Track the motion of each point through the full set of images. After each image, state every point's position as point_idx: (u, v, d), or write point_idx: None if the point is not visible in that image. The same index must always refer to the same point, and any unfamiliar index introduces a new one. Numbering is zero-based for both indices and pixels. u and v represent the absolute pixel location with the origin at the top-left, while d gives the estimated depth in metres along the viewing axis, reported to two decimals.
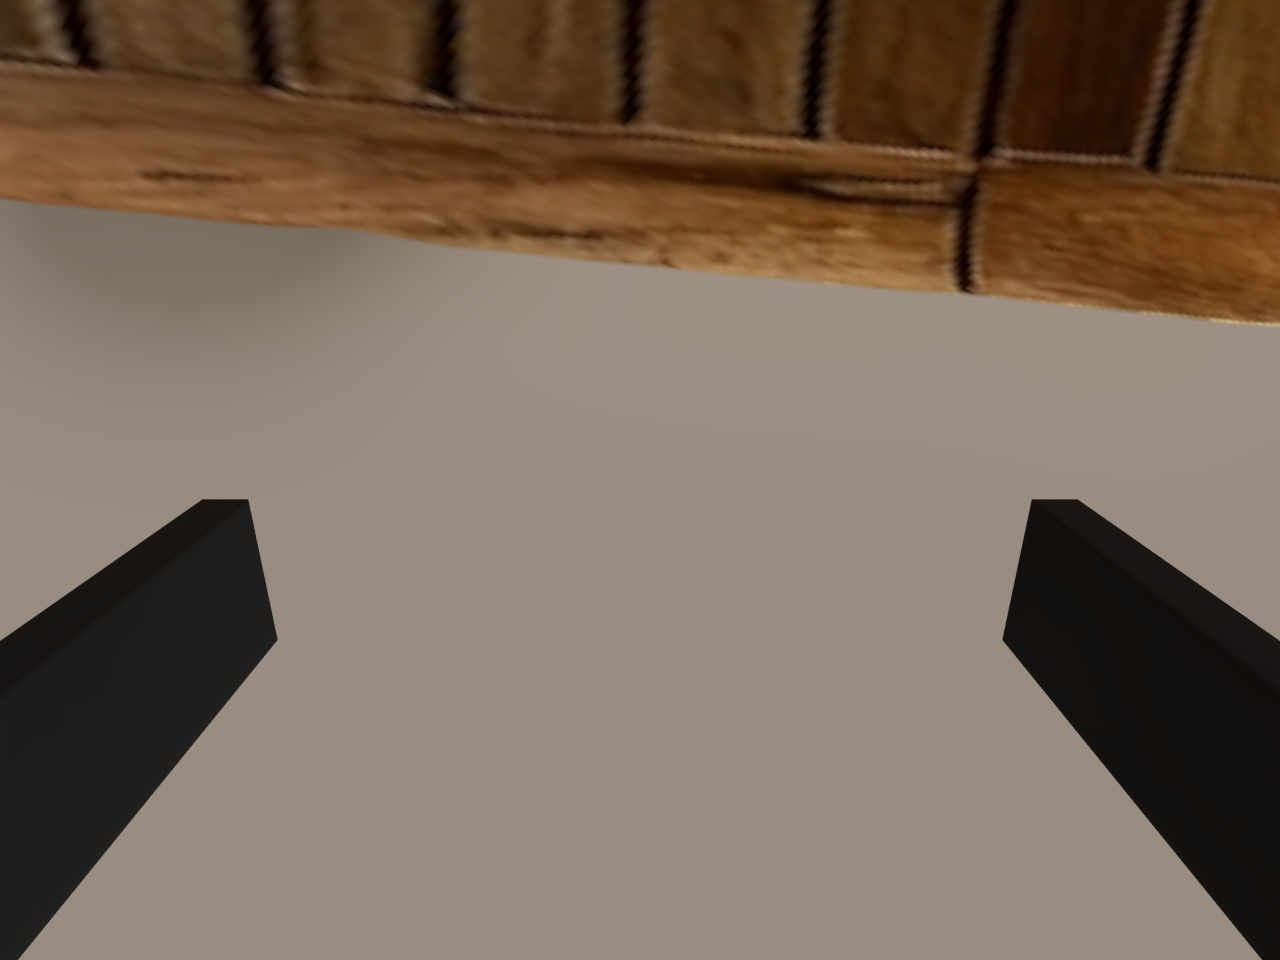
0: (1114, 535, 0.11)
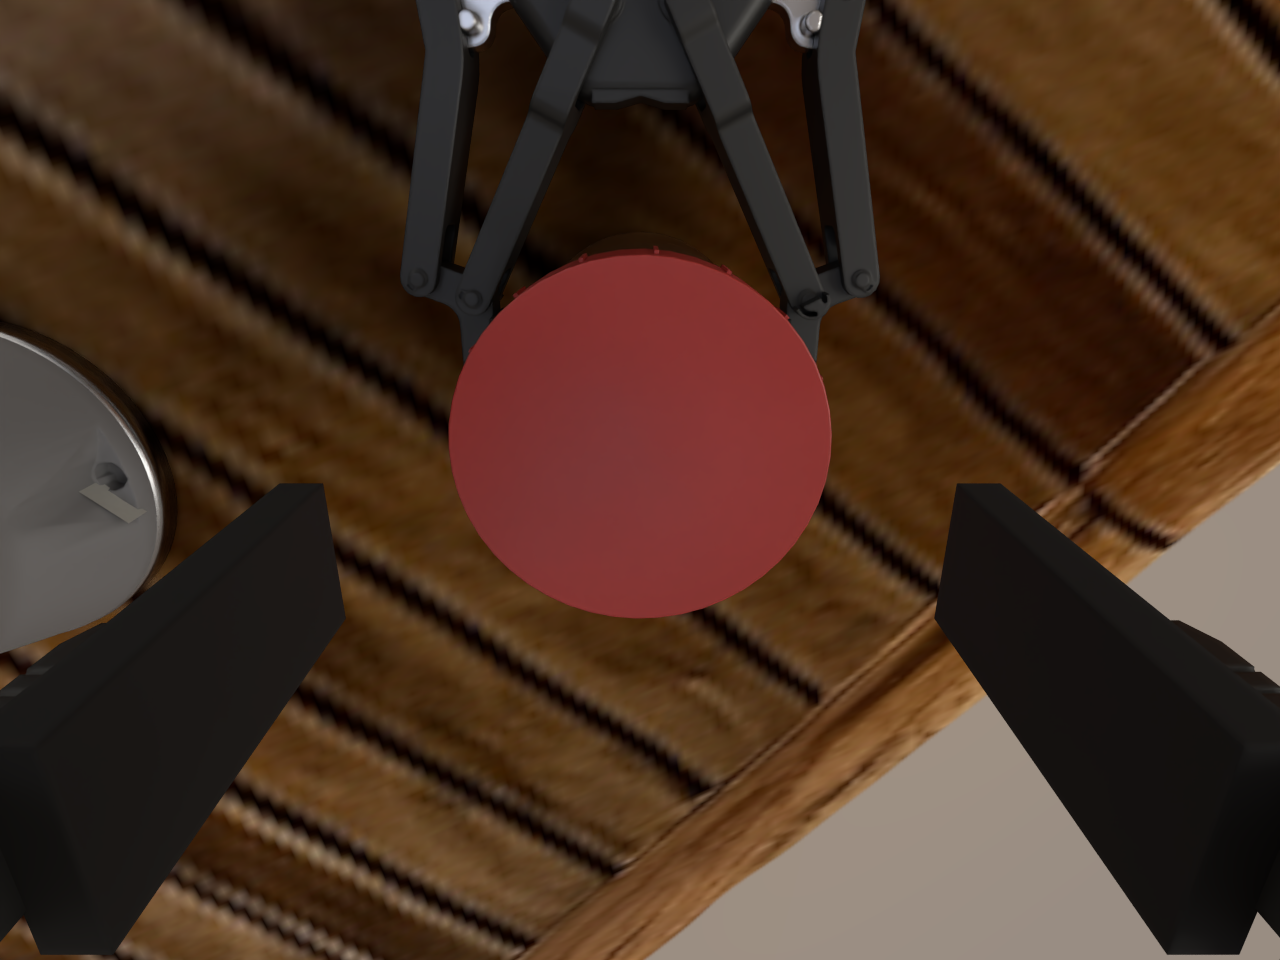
0: (1026, 515, 0.11)
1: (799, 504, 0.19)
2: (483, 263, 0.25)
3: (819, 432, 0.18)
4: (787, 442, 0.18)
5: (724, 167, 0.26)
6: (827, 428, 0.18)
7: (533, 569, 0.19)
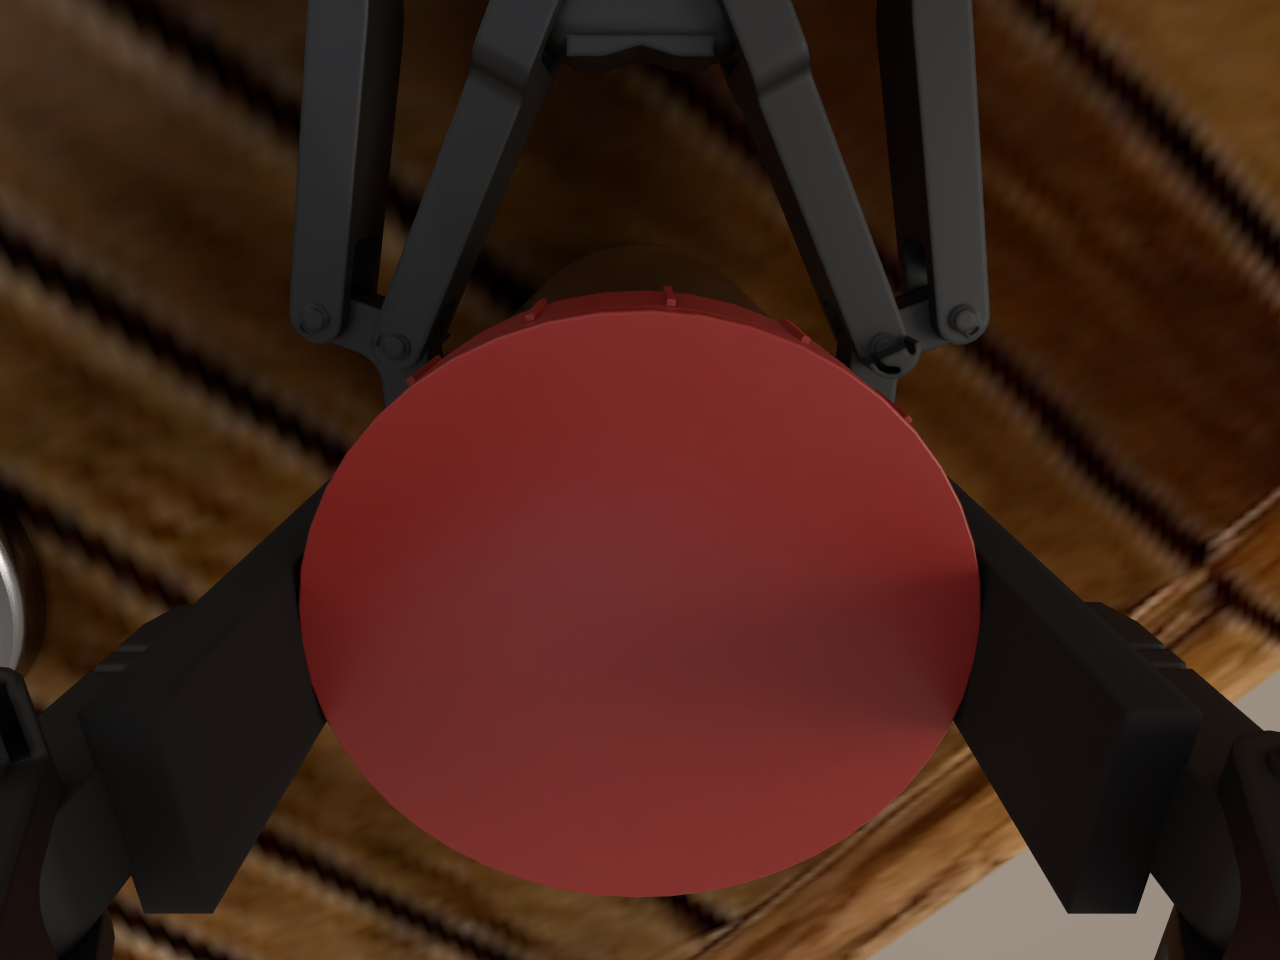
0: (964, 503, 0.12)
1: (915, 731, 0.11)
2: (409, 294, 0.17)
3: (959, 619, 0.10)
4: (902, 634, 0.10)
5: (761, 155, 0.18)
6: (974, 612, 0.10)
7: (460, 827, 0.12)
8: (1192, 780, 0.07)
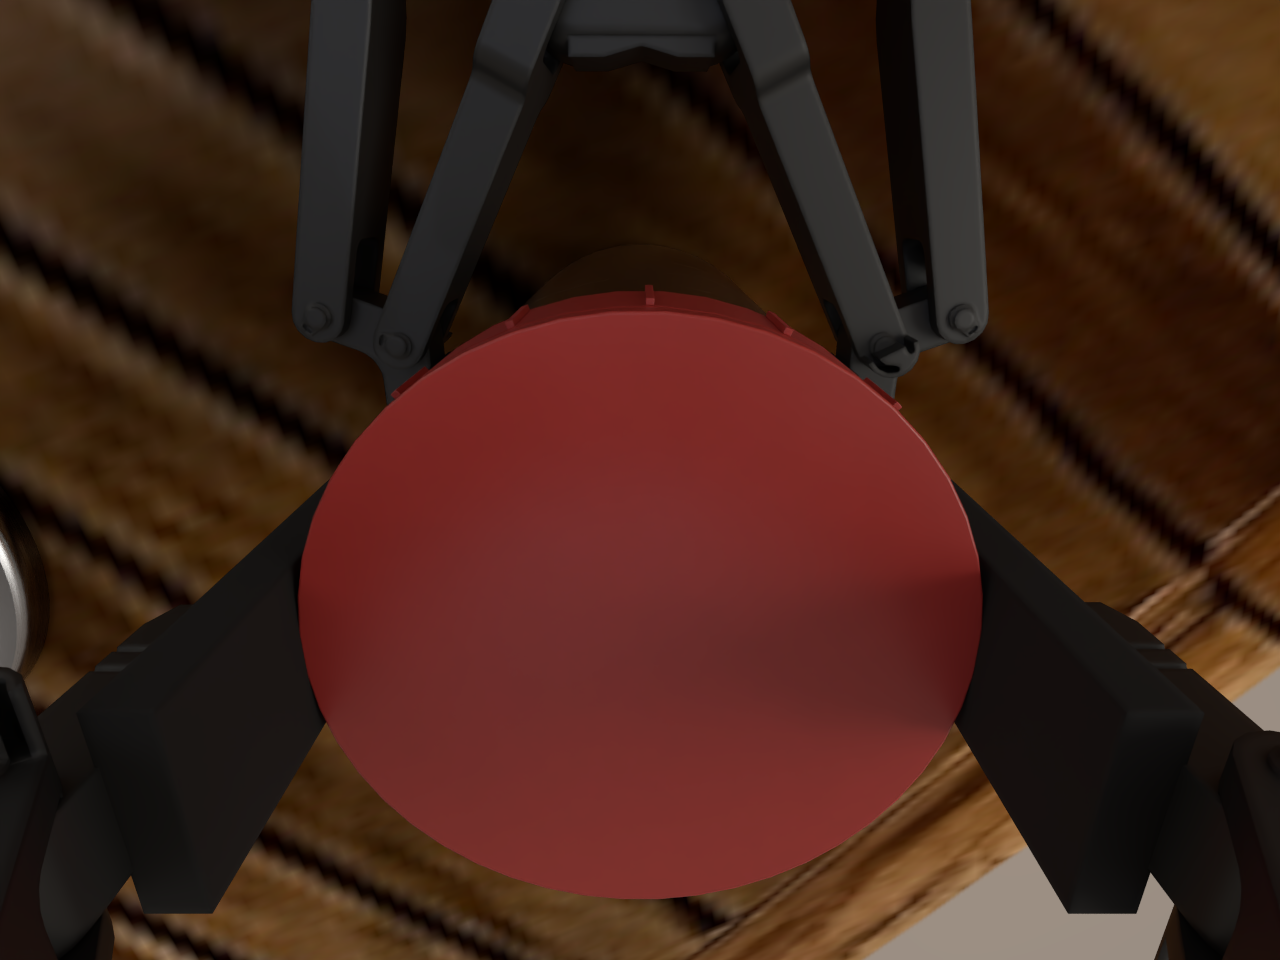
0: (964, 503, 0.12)
1: (766, 372, 0.09)
2: (411, 293, 0.17)
3: (606, 338, 0.09)
4: (626, 401, 0.09)
5: (761, 156, 0.18)
6: (598, 322, 0.09)
7: (842, 814, 0.11)
8: (1192, 780, 0.07)
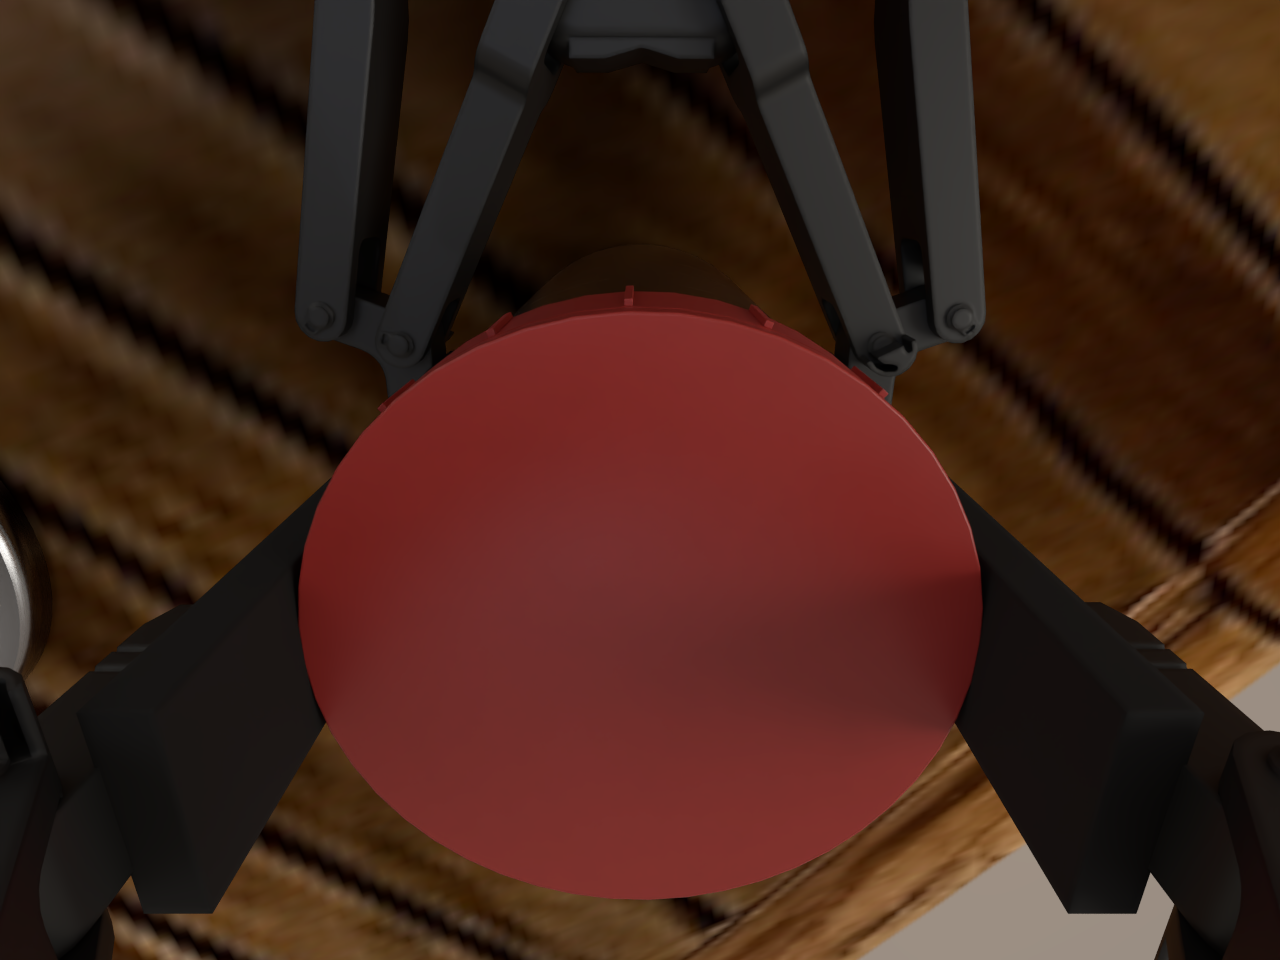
0: (964, 504, 0.12)
1: (340, 548, 0.10)
2: (414, 293, 0.17)
3: (325, 669, 0.10)
4: (379, 657, 0.10)
5: (760, 156, 0.18)
6: (313, 674, 0.10)
7: (883, 450, 0.09)
8: (1192, 780, 0.07)
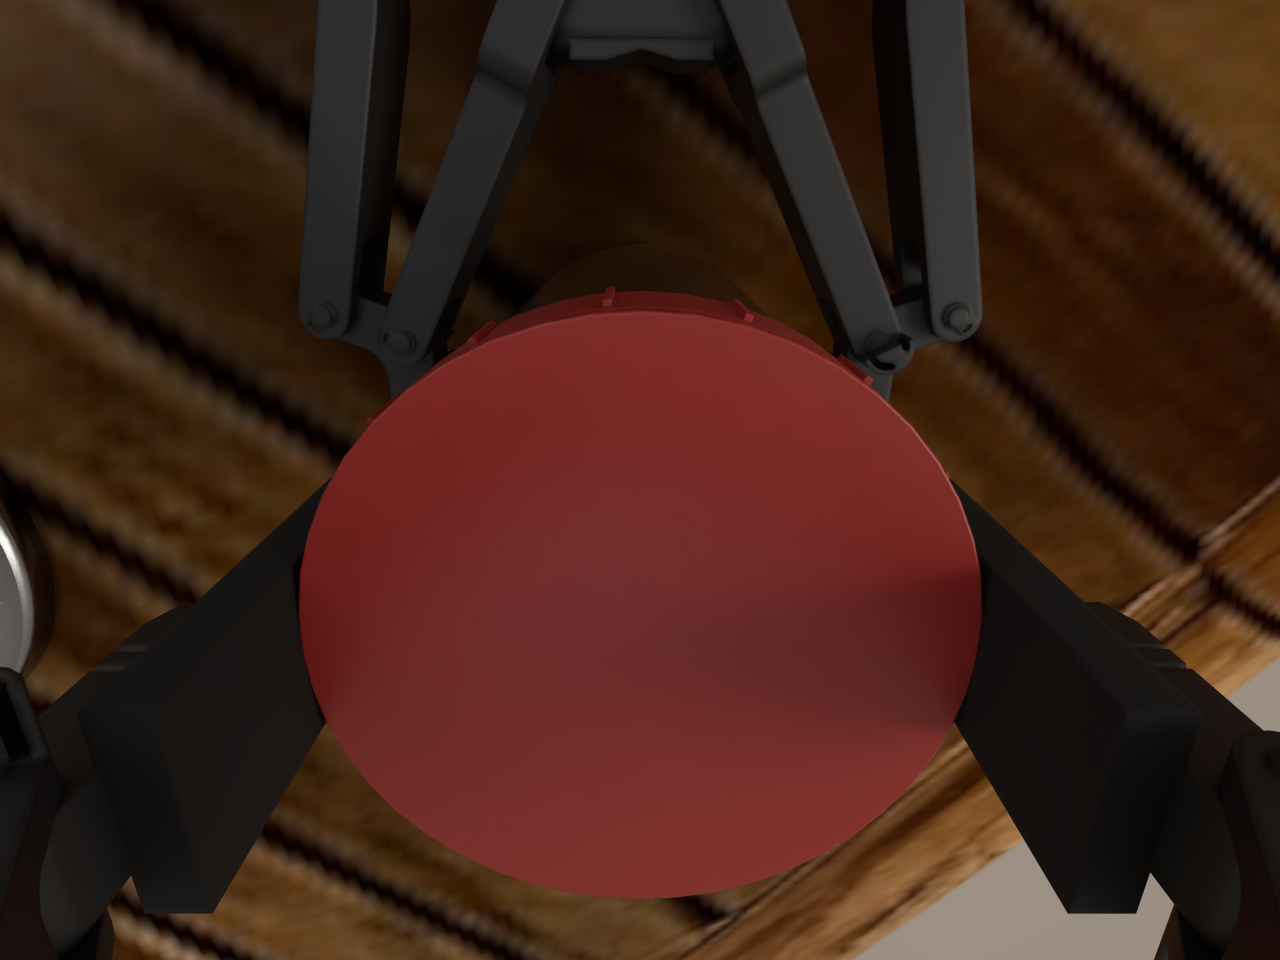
0: (964, 503, 0.12)
1: (526, 860, 0.12)
2: (416, 292, 0.17)
3: (644, 886, 0.12)
4: (633, 850, 0.12)
5: (759, 157, 0.18)
6: (649, 895, 0.12)
7: (407, 439, 0.09)
8: (1192, 779, 0.07)
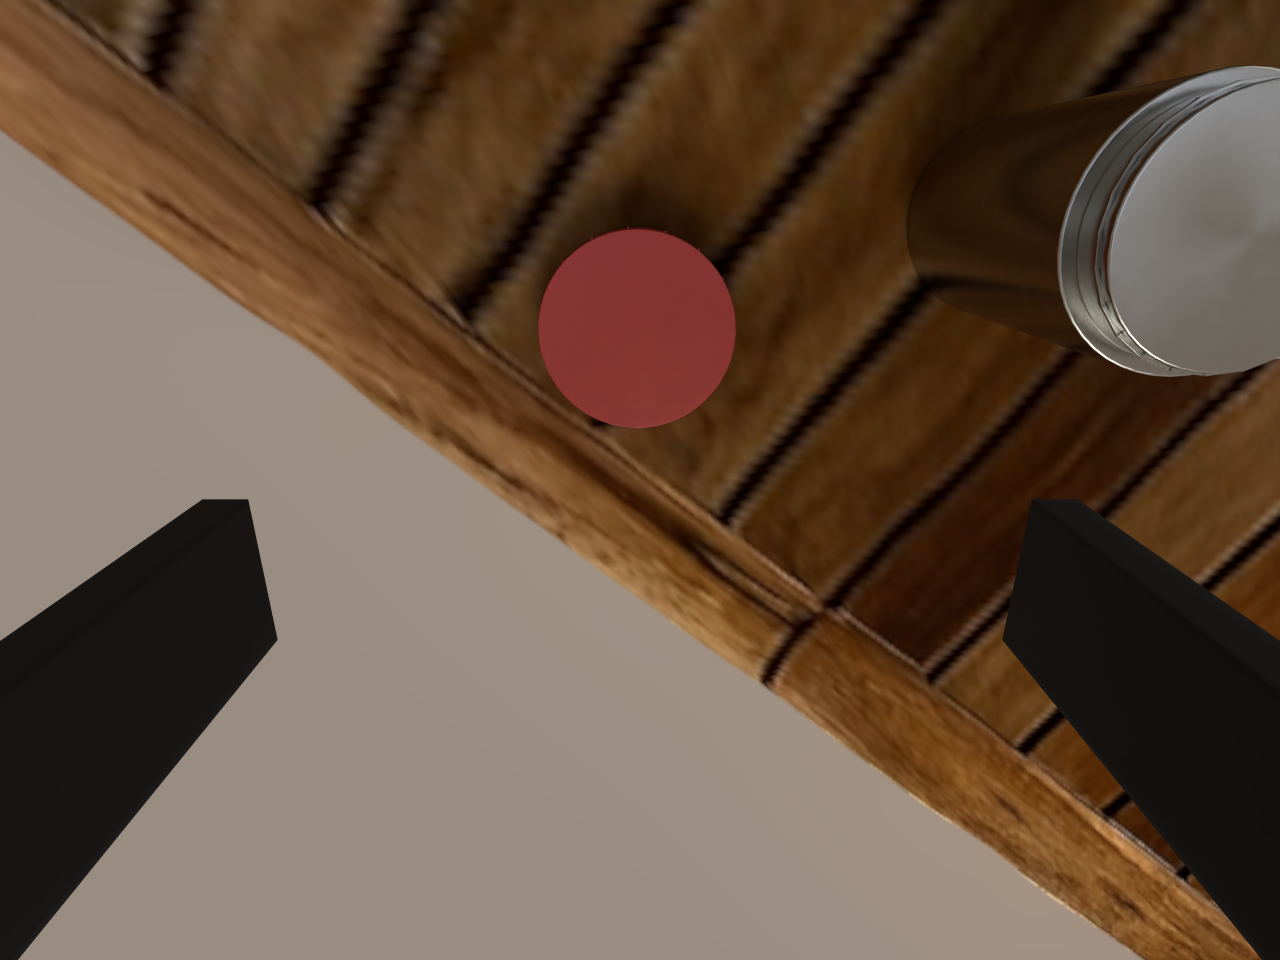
0: (1114, 535, 0.11)
1: (601, 411, 0.37)
2: None
3: (638, 422, 0.37)
4: (635, 407, 0.37)
5: None
6: (640, 425, 0.37)
7: (574, 265, 0.34)
8: None
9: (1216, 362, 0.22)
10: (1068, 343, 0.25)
